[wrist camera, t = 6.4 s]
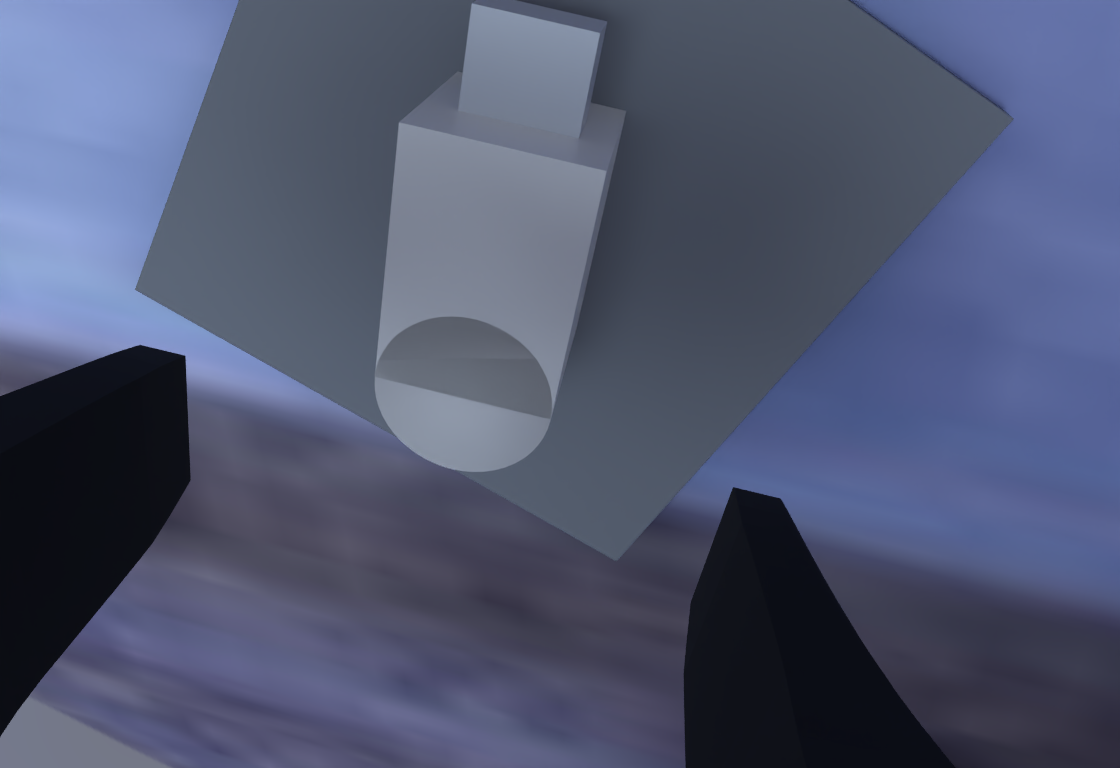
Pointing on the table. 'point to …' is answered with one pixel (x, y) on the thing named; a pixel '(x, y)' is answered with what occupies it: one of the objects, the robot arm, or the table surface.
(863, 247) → the mat
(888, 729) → the robot arm
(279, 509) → the table surface
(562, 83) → the connector
